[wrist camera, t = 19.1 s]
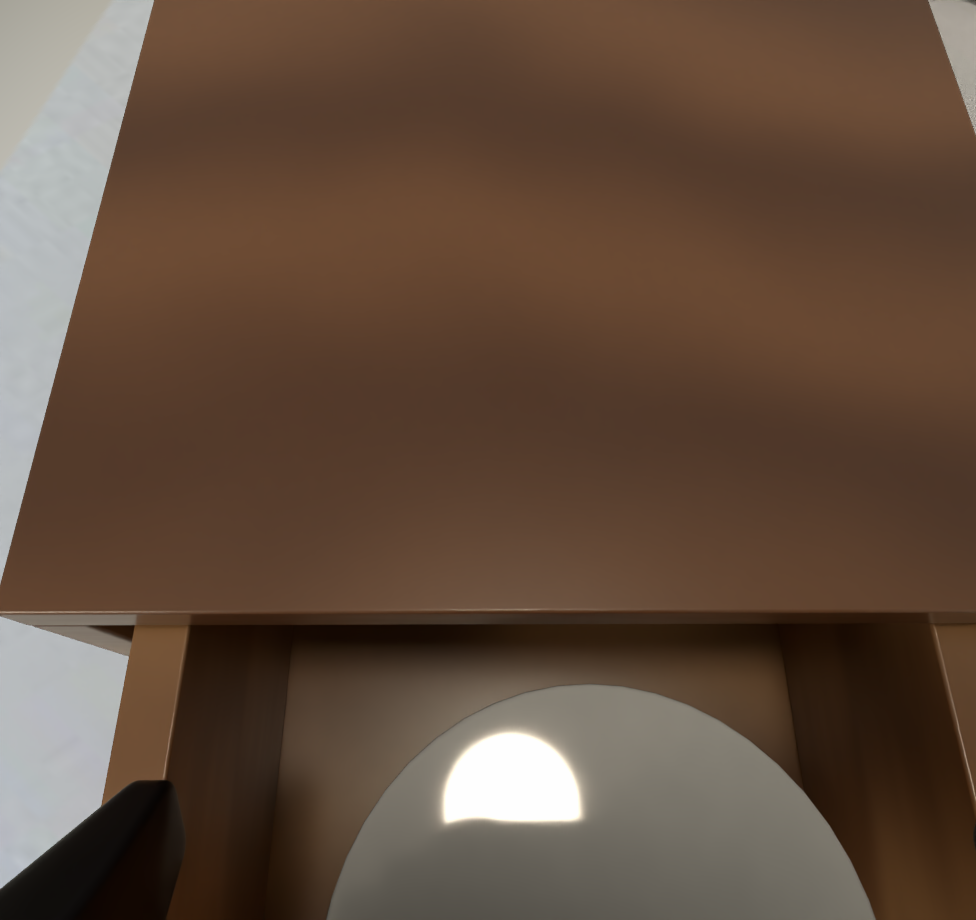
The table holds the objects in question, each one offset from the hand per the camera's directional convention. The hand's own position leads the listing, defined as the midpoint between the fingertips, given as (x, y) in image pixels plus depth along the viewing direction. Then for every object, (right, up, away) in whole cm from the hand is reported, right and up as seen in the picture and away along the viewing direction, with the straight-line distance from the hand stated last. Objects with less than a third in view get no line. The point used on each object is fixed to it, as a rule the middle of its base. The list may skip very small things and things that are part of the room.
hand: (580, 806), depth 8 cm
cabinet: (0, +6, +12) cm, 13 cm away
